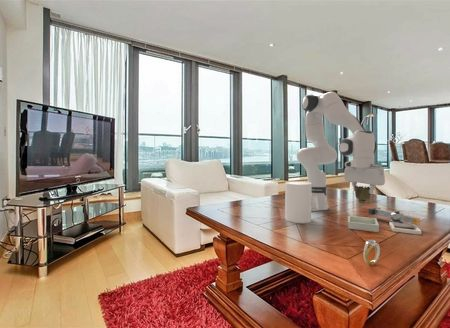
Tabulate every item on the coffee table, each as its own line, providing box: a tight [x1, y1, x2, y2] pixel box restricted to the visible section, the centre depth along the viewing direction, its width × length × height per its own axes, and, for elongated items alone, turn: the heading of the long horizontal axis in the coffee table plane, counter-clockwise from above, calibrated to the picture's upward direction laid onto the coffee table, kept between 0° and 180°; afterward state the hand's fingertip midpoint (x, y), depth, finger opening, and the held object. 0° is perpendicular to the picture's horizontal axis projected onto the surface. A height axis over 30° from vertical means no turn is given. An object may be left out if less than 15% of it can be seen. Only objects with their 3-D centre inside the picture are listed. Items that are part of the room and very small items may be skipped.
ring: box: [362, 239, 381, 266], centre depth 81 cm, size 7×3×8 cm, turn 113°
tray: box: [347, 215, 380, 233], centre depth 120 cm, size 12×12×3 cm
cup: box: [354, 185, 372, 204], centre depth 119 cm, size 8×7×8 cm
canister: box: [284, 180, 312, 224], centre depth 133 cm, size 14×14×20 cm
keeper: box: [389, 221, 422, 235], centre depth 115 cm, size 10×10×2 cm
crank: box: [368, 207, 421, 226], centre depth 124 cm, size 22×6×4 cm, turn 22°
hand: (363, 192), depth 119 cm, fingers closed on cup, 7 cm apart
